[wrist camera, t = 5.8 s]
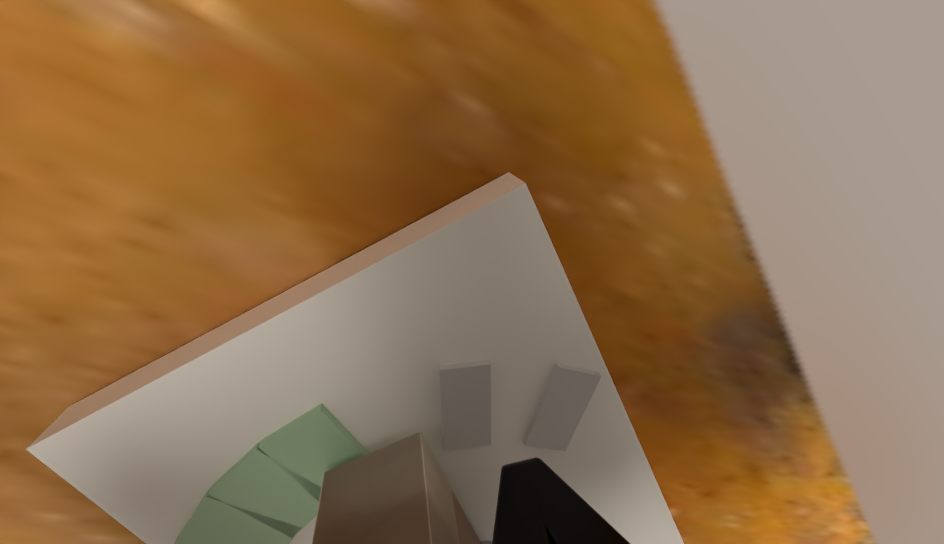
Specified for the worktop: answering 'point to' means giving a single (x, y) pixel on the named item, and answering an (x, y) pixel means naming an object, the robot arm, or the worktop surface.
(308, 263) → the worktop surface
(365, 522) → the lever
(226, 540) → the dial board
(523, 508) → the robot arm
